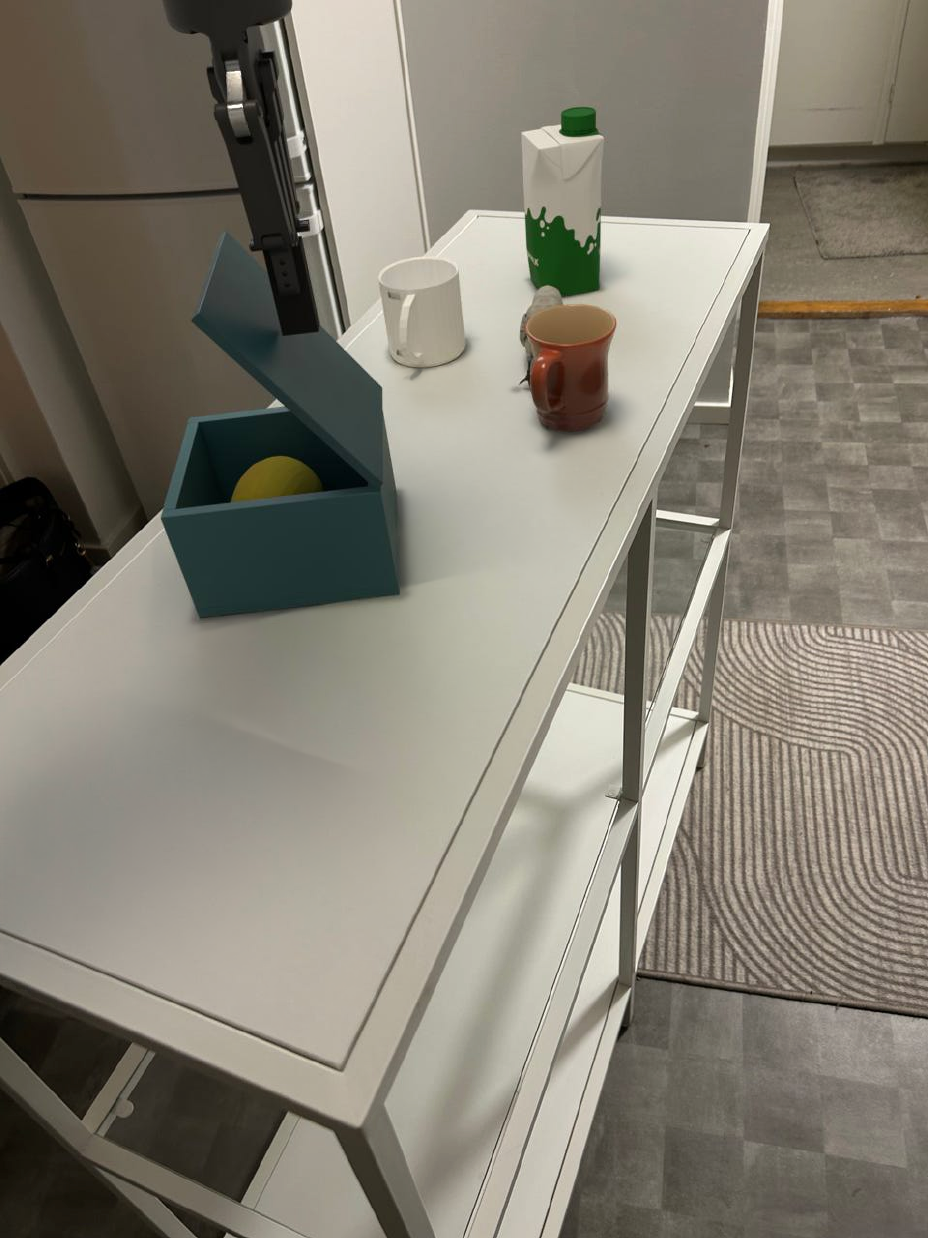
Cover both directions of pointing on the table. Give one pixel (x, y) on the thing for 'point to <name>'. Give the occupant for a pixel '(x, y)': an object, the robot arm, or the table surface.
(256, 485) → the lemon
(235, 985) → the table surface
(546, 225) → the soya milk
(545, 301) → the decorative bird
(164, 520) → the teal box
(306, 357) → the lid
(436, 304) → the mug
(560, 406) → the mug
